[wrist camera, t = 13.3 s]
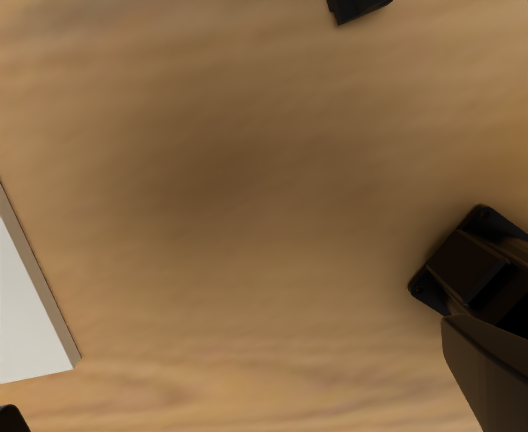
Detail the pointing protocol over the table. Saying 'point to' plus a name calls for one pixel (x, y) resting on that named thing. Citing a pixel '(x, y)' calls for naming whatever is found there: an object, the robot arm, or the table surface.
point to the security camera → (354, 8)
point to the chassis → (28, 310)
